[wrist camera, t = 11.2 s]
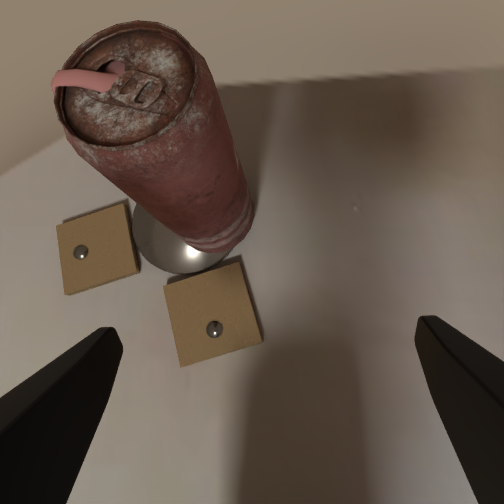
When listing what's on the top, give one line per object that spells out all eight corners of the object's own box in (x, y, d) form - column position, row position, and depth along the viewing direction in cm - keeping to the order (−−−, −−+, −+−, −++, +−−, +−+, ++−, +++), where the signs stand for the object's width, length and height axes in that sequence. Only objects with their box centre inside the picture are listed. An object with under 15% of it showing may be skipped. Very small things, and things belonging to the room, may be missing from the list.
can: (175, 185, 26) (46, 25, 12) (253, 177, 25) (205, -2, 12) (174, 257, 24) (25, 164, 11) (256, 252, 24) (205, 144, 10)
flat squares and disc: (283, 335, 22) (282, 335, 22) (83, 397, 23) (76, 399, 22) (226, 155, 27) (224, 150, 26) (59, 212, 27) (53, 209, 27)
